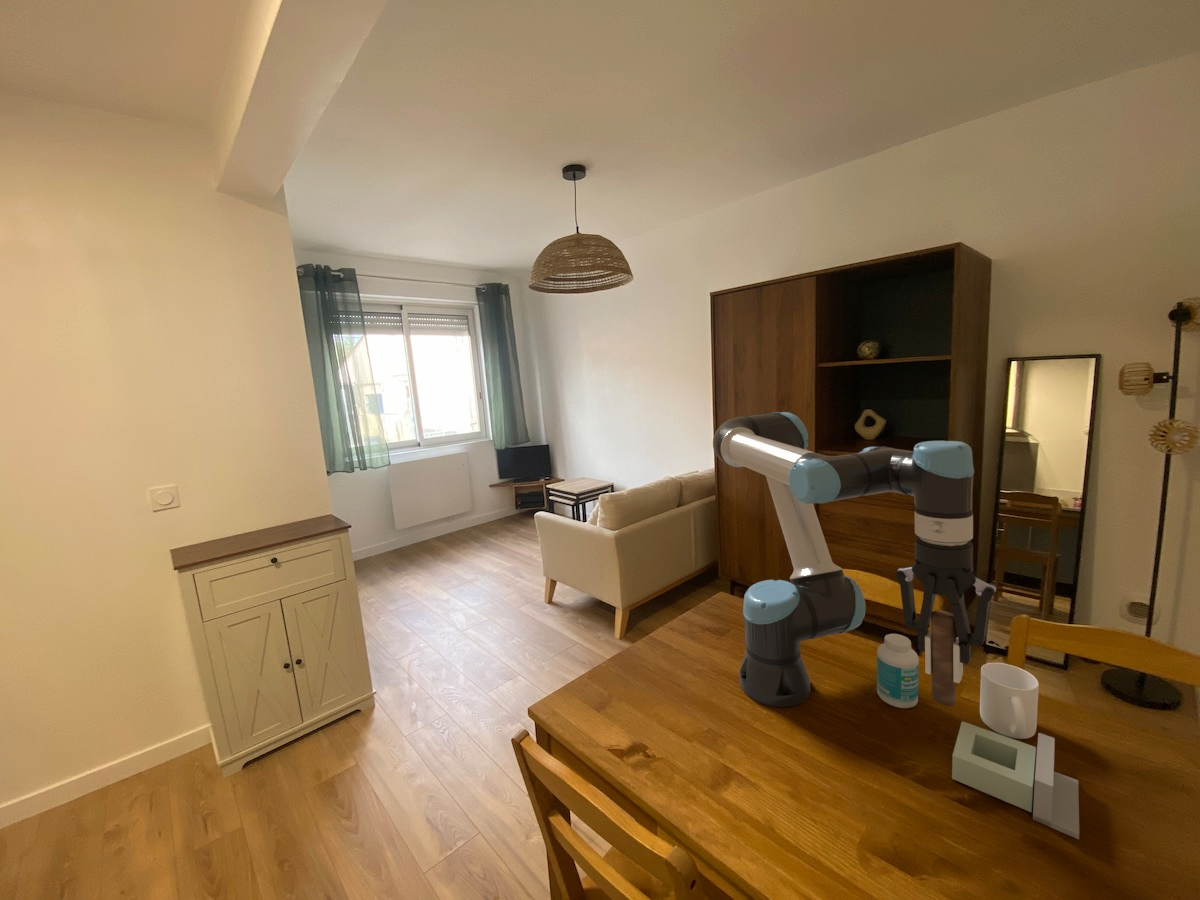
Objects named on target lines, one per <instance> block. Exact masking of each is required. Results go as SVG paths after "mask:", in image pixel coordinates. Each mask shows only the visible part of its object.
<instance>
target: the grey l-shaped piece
mask: <svg viewBox="0 0 1200 900" xmlns="http://www.w3.org/2000/svg"><path fill="white" fill-rule="evenodd" d="M1055 739H1056V738H1055V737H1053V736H1049V735H1047V734H1044V733H1041V732H1038V734H1037V745H1036V757H1035V775H1034V787H1033V804H1032V820H1033V821H1035V822H1038V823H1040V824H1042V825H1045V826H1047V827H1049V828H1052V829H1054V830H1057V831H1058V832H1060V833H1063V834H1065V835H1068V836H1070V837H1071V838H1075V839H1076V840H1080V801H1079V800H1080V798H1079V780H1078V779H1076V778H1073V777H1070V776H1068V775H1064V774H1062V773H1059V772H1056V771H1054V770H1055V769H1054V768H1055V747H1056V746H1055V745H1056V744H1055V742H1056V741H1055Z"/></svg>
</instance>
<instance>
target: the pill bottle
mask: <svg viewBox="0 0 1200 900" xmlns="http://www.w3.org/2000/svg"><path fill="white" fill-rule="evenodd" d="M918 655H919V654H918V653H917V652H916V651H915V650H914V649H913V648H912V642H911V640H910V639H909V638H908V637H907V636H905V635H902V634H897V633H889V634H885V636H884V642H883V643H881V644H880V645H879V646H878V647H877V651H876V693H877V695H878V696H879V698H880V699H881V700H882V701H883V702H885V703H887V704H888V705H890V706H892V707H895V708H900V709H910V708H911V709H912V708H914V707H915V706H917V704H918V701H919V673H920V672H919V669H920V668H919V666H920V665H919V664H920V663H919V662H920V660H919V656H918Z"/></svg>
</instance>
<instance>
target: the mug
mask: <svg viewBox="0 0 1200 900" xmlns="http://www.w3.org/2000/svg"><path fill="white" fill-rule="evenodd" d="M1039 683H1040V682H1039V681H1038V679H1037V678H1036V676H1034V675H1033V674H1032V673H1030V672H1029V671H1027V670H1025V669H1023V668H1020V667H1019V666H1015V665H1011V664H1007V663H1003V662H988V663H985V664H983V665H982V666H981V667H980V689H979V691H980V692H979V694H980V695H979V714H980V715H979V716H980V719H981V720H982V722H983V723H984V725H986V726H987V727H988V728H990V729H991V730H992V731H993V732H995V733H997V734H1000V735H1003V736H1005V737H1008V738H1011V739H1015V740H1018V739H1019V740H1025V739H1030V738H1032V737H1034V736H1035V734H1036V733H1037V724H1038V705H1039V691H1040V690H1039V689H1040V688H1039V687H1040V686H1039V685H1040V684H1039Z"/></svg>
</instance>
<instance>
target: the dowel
mask: <svg viewBox="0 0 1200 900" xmlns="http://www.w3.org/2000/svg"><path fill="white" fill-rule="evenodd" d="M930 624H931V625H930V630H931V642H932V673H931V698H932V700H933V701H934V702H935V703H937V704H939V705H942V706H946V707H953V706H955V705H956V703H957V702H956V699H957V698H956V690H957V689H956V683H955V682H953V644H954V642H955V640H956V625H955V620H954V615H953V612H952V613H951V612H948V611H946V610H945V611H944V610H933V611H932V612H931V621H930Z"/></svg>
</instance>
